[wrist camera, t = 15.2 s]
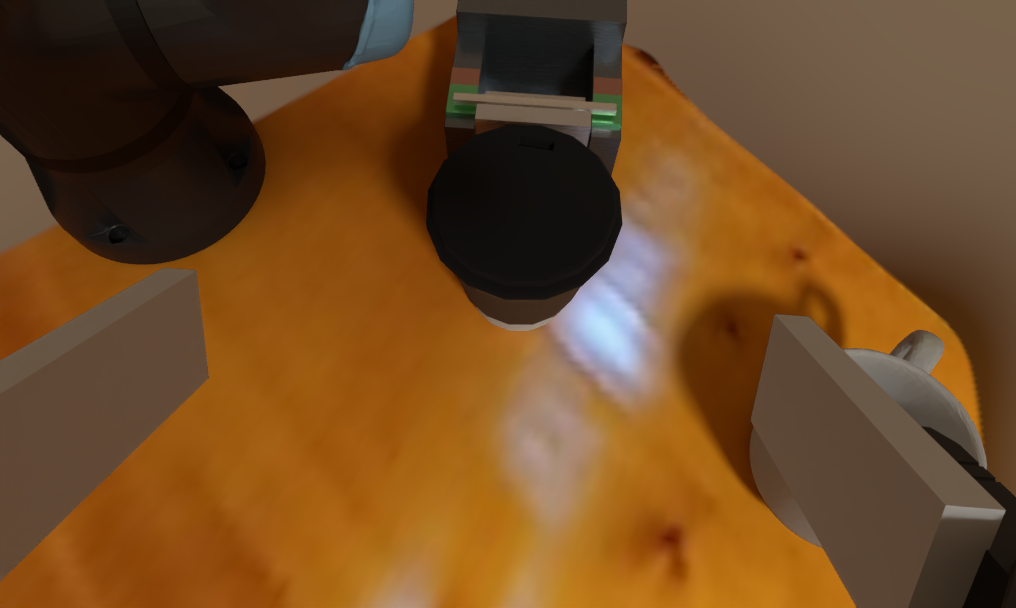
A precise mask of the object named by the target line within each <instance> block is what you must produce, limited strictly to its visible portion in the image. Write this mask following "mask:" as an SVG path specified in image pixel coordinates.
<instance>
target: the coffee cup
mask: <svg viewBox="0 0 1016 608" xmlns="http://www.w3.org/2000/svg"><path fill="white" fill-rule="evenodd" d="M426 225H427V230H428V232H429V234H430V237H431V239H432V241H433V244H434V246H435V248H436V251H437V253H438V255H439V258H440V260H441V261H442V262H443V263H444V264H445V265H446V266H447V267H448V268H449V269H450V270H452V271H453V272H454V273H455V274H456V275H457V276H458V278H459V280H460V282H461V284H462V286H463V288H464V290H465V292H466V294H467V296H468V298H469V300H470V301H471V302H472V303H473V304H474V305H475V306H476V308H477V310H478V311H479V312H480V313H481V314H482V315H483V316H484V317H485V318H486V319H487V320H488V321H489V322H490V323H491V324H494V325H496V326H499V327H501V328H504V329H507V330H509V331H530V330H532V329H535V328H538V327H540V326H543V325H545V324H547V323H548V322H550V321H551V320H552V319H553V318H554V317H555V316H556V315H557V314H558V313H559V312H560V311H561V310H562V309H563V308H564V307H565V306H566V305H567V304H568V303H569V302H570V301H571V300H572V298H573V297H574V295H575V294H576V293H577V291H578V290H579V288H580V287H581V286H582V285H583V284H584V283H586V282H587V281H588V280H589V279H590V278H591V277H592V276H593V275H594V274H595V273H596V272H597V271H598V270H599V269H600V268H601V267H602V266H603V265H605V264H606V263H607V262H608V260H609V258H610V255H611V253H612V250H613V248H614V245H615V243H616V240H617V237H618V235H619V232H620V230H621V227H622V215H621V203H620V191H619V189H618V188H617V186H616V184H615V182H614V181H613V179H612V177H611V175H610V174H609V172H608V170H607V168H606V167H605V165H604V163H603V162H602V161H601V159H600V157H599V156H598V155H597V154H595V153H594V152H593V151H591V150H590V149H589V148H588V147H586V146H585V145H584V144H583V143H581V142H580V141H579V140H577V139H576V138H575V137H574V136H571V135H568V134H565V133H562V132H559V131H556V130H553V129H550V128H547V127H545V126H542V125H505V126H502V127H499V128H496V129H493V130H490V131H487V132H484V133H481V134H477V135H474V136H473V137H472V138H471V139H469V140H468V141H467V142H466V143H464V144H463V145H462V146H460V147H459V148H458V149H457V150H455V151H454V152H453V153H452V154H450V155H449V156H448V158H447V159H446V160H445V161H444V162H443V164H442V166H441V167H440V169H439V171H438V173H437V175H436V177H435V178H434V180H433V182H432V184H431V186H430V188H429V189H428V200H427V219H426Z"/></svg>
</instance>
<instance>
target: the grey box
mask: <svg viewBox="0 0 1016 608" xmlns="http://www.w3.org/2000/svg"><path fill="white" fill-rule="evenodd" d="M456 14H457V28H458V37H457V44H456V51H455V58H454V64H453V67H452V73H451V80H450V87H449V93H448V100H447V107H446V119H445V126H444V128H445V136H446V145H447V153H448V156H449V155H450V154H452V153H453V152H454V151H455V150H457V149H458V148H459V147H460V146H462V145H463V144H464V143H466V142H467V141H468V140H469V139H471V138H472V137H473V136H474V135H476V126H475V116H476V108H477V106H468V105H453V96H454V93H469V94H483V95H485V93H486V91H496V92H510V93H525V94H540V95H554V96H569V97H583V98H585V102H599V103H614V104H616V115H615V116H612V115H597V114H591V129H590V134H589V139H588V144H587V147H588V148H589V149H590V150H591V151H593V152H594V153H595V154H597V155H598V156H599V157H600V159H601V161H602V162H603V163H604V165H605V167H606V168H607V170H608V172H609V174H610V175H612V171H613V167H614V163H615V160H616V156H617V152H618V148H619V145H620V141H621V126H622V42H623V37H624V32H625V28H626V24H627V0H458V4H457V10H456Z"/></svg>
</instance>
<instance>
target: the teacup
mask: <svg viewBox="0 0 1016 608" xmlns="http://www.w3.org/2000/svg"><path fill="white" fill-rule="evenodd" d="M842 350H844V351H845V352H846V353H847V354H848V355H849V356H850V357H851V358H852V359H853V360H854V361H855V362H856V363H857V364H858V365H859V366H860V367H861V368H862V369H863V370H864V371H865V372H866V373H867V374H868V375H869V376H870V377H871V378H872V379H873V380H874V381H875V382H876V383H877V384H878V385H879V386H880V387H881V388H882V389H883V390H884V391H885V392H886V393H887V394H888V395H889V396H890V397H891V398H892V399H893V400H894V401H895V402H896V403H897V404H898V405H899V406H900V407H902V408H903V409H904V410H905V411H906V412H907V413H908V414H909V415H910V416H911V417H912V418H913V419H914V420H915V421H916V422H917V423H918V424H919V425H920V426H923V427H931V428H933V429H934V430H936V431H938V432H939V433H941V434H943V435H945V436H946V437H948V438H950V439H951V440H953V441H955V442H956V443H958V444H959V445H961V446H962V447H963V448H964V449H965V450H966V451H967V452H968V453H969V454H970V455H971V456H972V457H973V458H974V459H976V460H977V461H978V462H979V466H983V467H984V468H985V469H986V470H987V462H986V456H985V452H984V448H983V445H982V442H981V438H980V436H979V433H978V431H977V429H976V427H975V425H974V422H973V421H972V420H971V418H970V416H969V415H968V413H967V411H966V410H965V409H964V407H963V406H962V405H961V403H960V402H959V401H958V400H957V399H956V398H955V397H954V396H953V395H952V394H951V393H950V392H949V391H948V390H947V389H946V388H945V387H944V386H943V385H942V384H941V383H940V382H938V381H937V380H936V379H935V378H934V377H932V376H931V375H930V374H929V373H930V372H931V370H932V369H933V368H934V366H935V365H936V364H937V363H938V361H939V359H940V357H941V356H942V353H943V351H944V343H943V342H942V340H941V339H940V338H938V337H937V336H936V335H934V334H932V333H930V332H928V331H924V330H917V331H914V332H912V333H911V334H909V335H908V336H907V337H906V338H904V339H903V340H902V341H901V342H900V343H899V344H898V345H897V346H896V347H895V348H894V350H893V351H892V352H891V353H890V354H885V353H882V352H878V351H874V350H870V349H858V348H852V349H842ZM749 454H750V464H751V470H752V474H753V477H754V480H755V483H756V486H757V488H758V490H759V492H760V494H761V496H762V498H763V500H764V501H765V503H766V505H767V506H768V507H769V509H770V510H771V511H772V513H773V514H774V515H775V516H776V517H777V518H778V519H779V520H780V521H781V522H782V523H783V524H784V525H785V526H786V527H787V528H788V529H790V530H791V531H792V532H794V533H795V534H796V535H798V536H799V537H801V538H803V539H804V540H806V541H808V542H810V543H812V544H814V545H816V546H818V547H821V548H823V547H822V545H821V544H820V542H819V540H818V538H817V537H816V535H815V533H814V531H813V530H812V528H811V526H810V524H809V523H808V521H807V519H806V517H805V516H804V514H803V512H802V510H801V509H800V507H799V505H798V503H797V502H796V500H795V498H794V496H793V495H792V493H791V491H790V489H789V488H788V486H787V484H786V482H785V481H784V479H783V477H782V475H781V473H780V472H779V470H778V468H777V466H776V465H775V463H774V461H773V459H772V458H771V456H770V454H769V452H768V451H767V449H766V447H765V445H764V444H763V442H762V440H761V438H760V437H759V435H758V433H757V431H756V430H755V428H754V427H753V430H752V433H751V438H750V449H749Z"/></svg>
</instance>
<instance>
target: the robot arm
mask: <svg viewBox="0 0 1016 608" xmlns="http://www.w3.org/2000/svg"><path fill="white" fill-rule="evenodd" d="M413 12H414V0H0V135H1V136H2V137H3V138H4V139H5V140H6V141H8V142H9V143H10V144H11V145H12V146H13V147H14V148H15V149H17V150H18V151H19V152H20V153H21V154H22V155H23V156H24V157H25V159H26V161H27V163H28V165H29V167H30V169H31V172H32V174H33V176H34V178H35V180H36V182H37V185H38V187H39V189H40V191H41V193H42V195H43V198H44V200H45V202H46V204H47V206H48V209H49V210H50V212H51V214H52V215H53V217H54V218H55V219H56V221H57V222H58V223H59V224H60V226H61V227H62V228H63V229H64V230H65V231H67V232H68V233H69V234H70V235H71V236H72V237H74V238H75V239H76V240H77V241H78V242H80V243H81V244H82V245H83V246H84V247H86V248H87V249H88V250H90V251H92V252H93V253H95V254H97V255H99V256H101V257H104V258H107V259H110V260H113V261H117V262H121V263H128V264H157V263H164V262H169V261H173V260H177V259H181V258H184V257H187V256H189V255H192V254H194V253H197V252H199V251H201V250H203V249H205V248H207V247H209V246H210V245H212V244H214V243H215V242H217V241H218V240H220V239H221V238H223V237H224V236H225V235H227V234H228V233H229V232H230V231H231V230H232V229H234V228H235V227H236V226H237V225H238V224H239V223H240V222H241V220H242V219H243V218H244V217H245V216H246V214H247V213H248V212H249V210H250V209H251V207H252V206H253V204H254V202H255V201H256V199H257V197H258V194H259V192H260V190H261V187H262V184H263V180H264V175H265V154H264V149H263V146H262V143H261V140H260V138H259V136H258V134H257V132H256V130H255V128H254V127H253V125H252V123H251V121H250V119H249V118H248V116H247V114H246V113H245V112H244V110H243V109H242V108H241V107H240V106H239V105H238V103H237V102H236V101H235V100H233V99H232V98H231V97H230V96H229V95H228V94H226V93H225V92H224V91H223V90H221V89H220V88H219V87H218V86H224V85H232V84H238V83H246V82H253V81H261V80H268V79H275V78H283V77H291V76H298V75H305V74H313V73H320V72H327V71H335V70H349V69H351V68H352V67H354V66H355V65H359V64H363V63H368V62H372V61H377V60H381V59H385V58H389V57H392V56H394V55H396V54H397V53H399V52H400V51H401V50H402V49H403V47H404V46H405V45H406V43H407V41H408V39H409V37H410V33H411V29H412V23H413ZM208 378H209V376H208V367H207V358H206V350H205V341H204V332H203V324H202V315H201V306H200V297H199V289H198V280H197V271H196V270H185V269H172V268H162V269H160V270H159V271H157V272H155V273H153V274H152V275H150V276H148V277H146V278H145V279H143V280H141V281H139V282H138V283H136V284H134V285H132V286H130V287H129V288H127V289H125V290H123V291H122V292H120V293H118V294H116V295H115V296H113V297H111V298H109V299H108V300H106V301H104V302H102V303H101V304H99V305H97V306H95V307H94V308H92V309H90V310H88V311H86V312H85V313H83V314H81V315H79V316H78V317H76V318H74V319H72V320H71V321H69V322H67V323H65V324H64V325H62V326H60V327H58V328H57V329H55V330H53V331H51V332H49V333H48V334H46V335H44V336H42V337H41V338H39V339H37V340H35V341H34V342H32V343H30V344H28V345H27V346H25V347H23V348H21V349H20V350H18V351H16V352H14V353H12V354H11V355H9V356H7V357H5V358H4V359H2V360H0V581H1V580H2V579H3V578H4V577H5V576H6V575H7V574H8V573H9V572H10V571H11V570H12V569H13V568H14V567H15V566H17V565H18V564H19V563H20V562H21V561H22V560H23V559H24V558H25V557H26V556H27V555H28V554H29V553H30V552H31V551H32V550H33V549H34V548H35V547H36V546H37V545H38V544H39V543H40V542H41V541H42V540H43V539H44V538H45V537H46V536H47V535H48V534H49V533H50V532H51V531H52V530H53V529H54V528H55V527H56V526H57V525H59V524H60V523H61V522H62V521H63V520H64V519H65V518H66V517H67V516H68V515H69V514H70V513H71V512H72V511H73V510H74V509H75V508H76V507H77V506H78V505H79V504H80V503H81V502H82V501H83V500H84V499H85V498H86V497H87V496H88V495H89V494H90V493H91V492H92V491H93V490H94V489H95V488H96V487H97V486H98V485H99V484H101V483H102V482H103V481H104V480H105V479H106V478H107V477H108V476H109V475H110V474H111V473H112V472H113V471H114V470H115V469H116V468H117V467H118V466H119V465H120V464H121V463H122V462H123V461H124V460H125V459H126V458H127V457H128V456H129V455H130V454H131V453H132V452H133V451H134V450H135V449H136V448H137V447H138V446H139V445H140V444H141V443H143V442H144V441H145V440H146V439H147V438H148V437H149V436H150V435H151V434H152V433H153V432H154V431H155V430H156V429H157V428H158V427H159V426H160V425H161V424H162V423H163V422H164V421H165V420H166V419H167V418H168V417H169V416H170V415H171V414H172V413H173V412H174V411H175V410H176V409H177V408H178V407H179V406H180V405H181V404H182V403H183V402H184V401H186V400H187V399H188V398H189V397H190V396H191V395H192V394H193V393H194V392H195V391H196V390H197V389H198V388H199V387H200V386H201V385H202V384H203V383H204V382H205V381H206V380H207V379H208ZM750 421H751V423H752V424H753V426H754V428H755V430H756V431H757V433H758V435H759V437H760V438H761V440H762V442H763V444H764V445H765V447H766V449H767V451H768V452H769V454H770V456H771V458H772V459H773V461H774V463H775V465H776V466H777V468H778V470H779V472H780V473H781V475H782V477H783V479H784V481H785V482H786V484H787V486H788V488H789V489H790V491H791V493H792V495H793V496H794V498H795V500H796V502H797V503H798V505H799V507H800V509H801V510H802V512H803V514H804V516H805V517H806V519H807V521H808V523H809V524H810V526H811V528H812V530H813V531H814V533H815V535H816V537H817V538H818V540H819V542H820V544H821V545H822V547H823V549H824V551H825V552H826V554H827V556H828V558H829V560H830V561H831V563H832V565H833V567H834V568H835V570H836V572H837V574H838V575H839V577H840V579H841V581H842V582H843V584H844V586H845V588H846V589H847V591H848V593H849V595H850V596H851V598H852V600H853V602H854V603H855V605H856V607H857V608H1016V497H1015V496H1014V495H1013V494H1012V493H1011V492H1010V491H1009V490H1008V489H1006V488H1005V487H1004V486H1003V485H1002V484H1001V483H1000V482H996V481H995V477H993V475H991V473H989V472H988V471H987V470H986V469H985V468H984V467H983V466H979V462H978V461H977V460H976V459H974V458H973V457H972V456H971V455H970V454H969V453H968V452H967V451H966V450H965V449H964V448H963V447H962V446H961V445H959V444H958V443H956V442H955V441H953V440H951V439H950V438H948V437H946V436H945V435H943V434H941V433H939V432H938V431H936V430H934V429H933V428H931V427H923V426H920V425H919V424H918V423H917V422H916V421H915V420H914V419H913V418H912V417H911V416H910V415H909V414H908V413H907V412H906V411H905V410H904V409H903V408H902V407H900V406H899V405H898V404H897V403H896V402H895V401H894V400H893V399H892V398H891V397H890V396H889V395H888V394H887V393H886V392H885V391H884V390H883V389H882V388H881V387H880V386H879V385H878V384H877V383H876V382H875V381H874V380H873V379H872V378H871V377H870V376H869V375H868V374H867V373H866V372H865V371H864V370H863V369H862V368H861V367H860V366H859V365H858V364H857V363H856V362H855V361H854V360H853V359H852V358H851V357H850V356H849V355H848V354H847V353H846V352H845V351H844V350H842V349H841V348H840V347H839V346H838V345H837V344H836V343H835V342H834V341H833V340H832V339H831V338H830V337H829V336H828V335H827V334H826V333H825V332H824V331H823V330H822V329H821V328H820V327H819V326H818V325H817V324H816V323H815V322H814V321H813V320H812V319H811V318H810V317H808V316H794V315H781V314H774V319H773V323H772V328H771V332H770V337H769V341H768V345H767V350H766V354H765V359H764V363H763V367H762V372H761V376H760V381H759V385H758V389H757V394H756V398H755V403H754V407H753V411H752V416H751V420H750Z"/></svg>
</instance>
